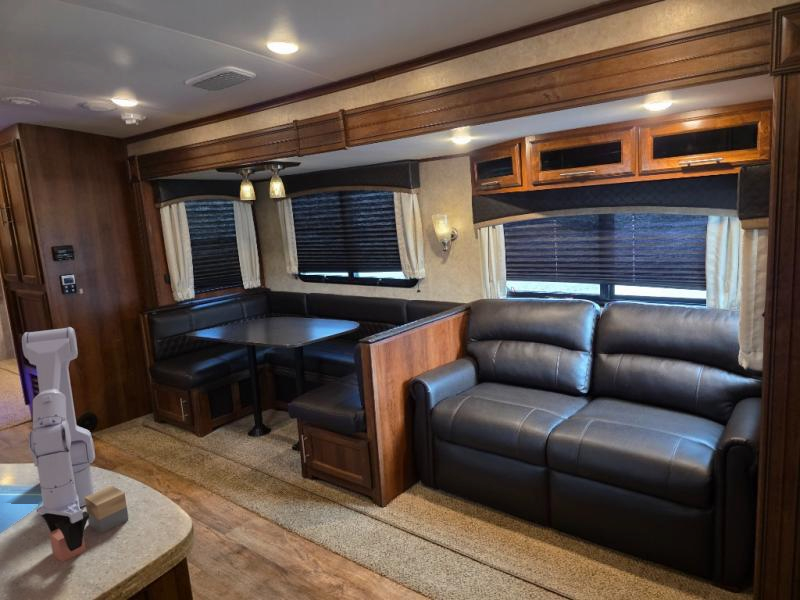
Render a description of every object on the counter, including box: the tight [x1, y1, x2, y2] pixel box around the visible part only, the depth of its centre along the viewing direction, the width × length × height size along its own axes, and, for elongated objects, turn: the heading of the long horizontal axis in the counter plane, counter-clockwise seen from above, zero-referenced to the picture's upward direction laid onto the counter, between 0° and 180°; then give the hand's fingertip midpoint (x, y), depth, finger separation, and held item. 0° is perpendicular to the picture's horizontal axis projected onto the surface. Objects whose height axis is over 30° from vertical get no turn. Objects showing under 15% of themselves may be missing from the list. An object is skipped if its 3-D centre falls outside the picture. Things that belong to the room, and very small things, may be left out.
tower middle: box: [85, 485, 128, 520], centre depth 118 cm, size 6×6×4 cm
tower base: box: [87, 506, 129, 534], centre depth 118 cm, size 6×6×4 cm
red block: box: [48, 529, 87, 563], centre depth 108 cm, size 4×4×5 cm
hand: (67, 541), depth 108 cm, fingers open, 7 cm apart
